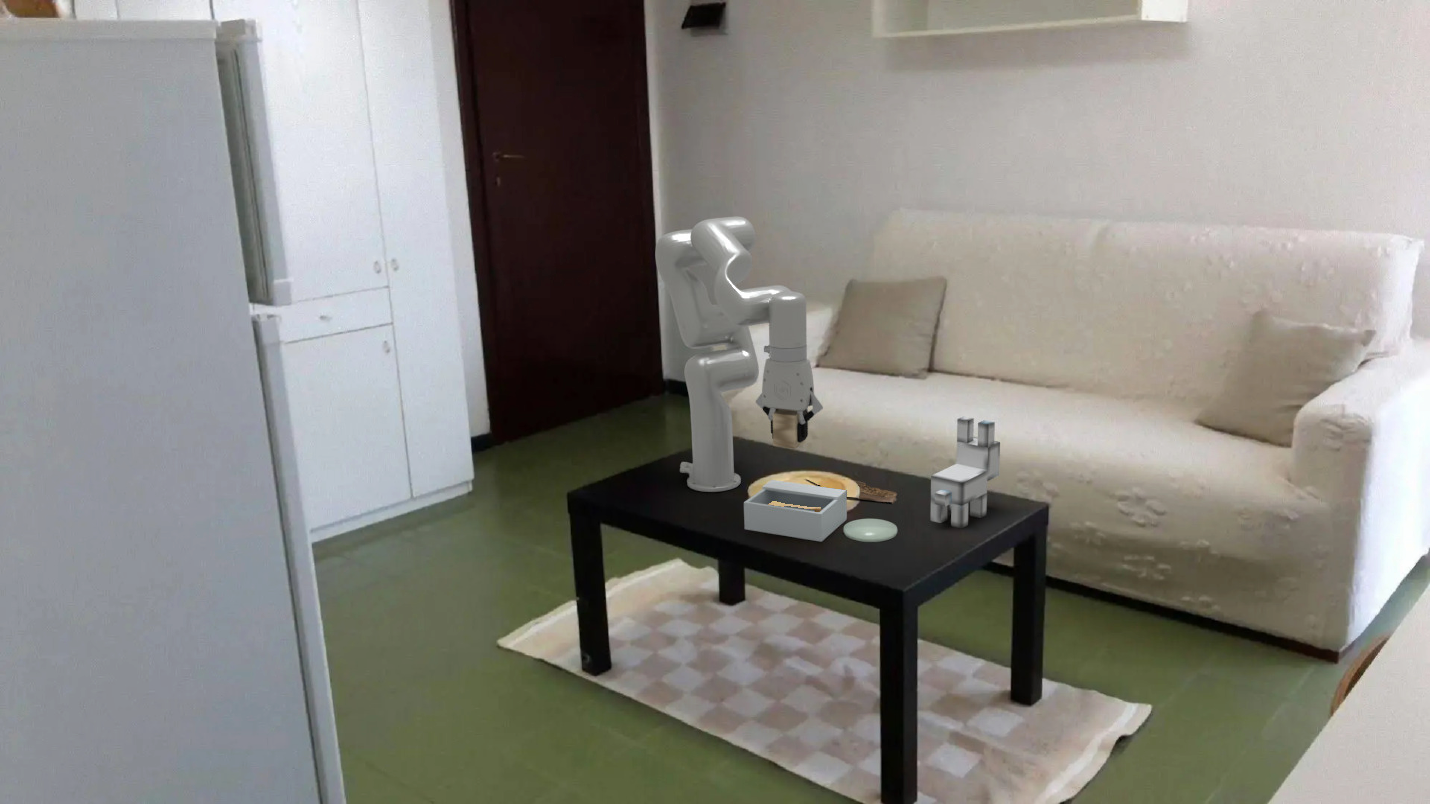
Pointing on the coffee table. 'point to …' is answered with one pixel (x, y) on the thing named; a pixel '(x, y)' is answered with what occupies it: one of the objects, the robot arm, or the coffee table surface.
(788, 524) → the box
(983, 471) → the toy llama
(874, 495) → the wooden fragment
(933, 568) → the coffee table surface
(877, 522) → the sage saucer
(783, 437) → the maple block
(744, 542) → the coffee table surface
